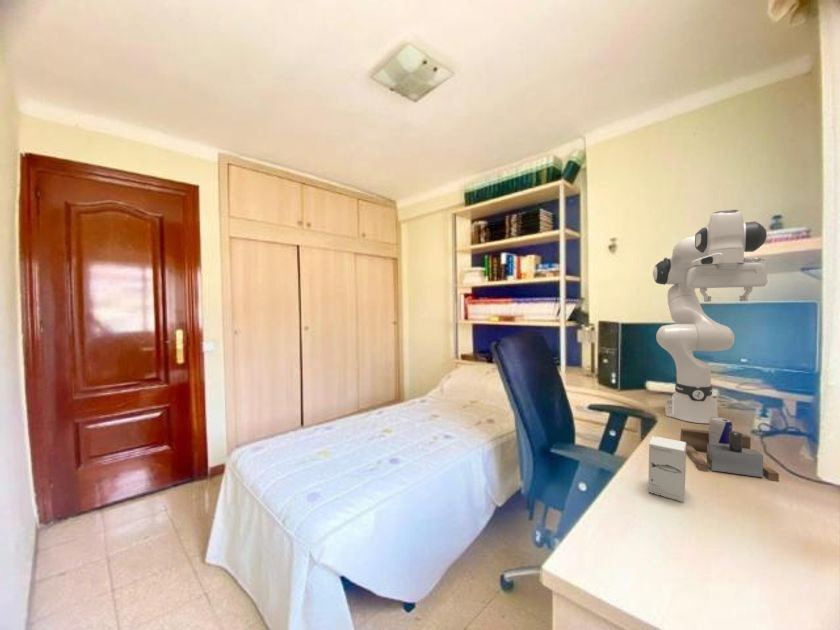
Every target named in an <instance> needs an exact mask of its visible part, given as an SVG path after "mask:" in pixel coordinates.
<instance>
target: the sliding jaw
mask: <svg viewBox="0 0 840 630" xmlns="http://www.w3.org/2000/svg"><path fill="white" fill-rule="evenodd" d="M742 434H743V433H742V432H738V431H734V430H732V431H730V432H729V447H728V446H719V445H711V444H707V453H706V462H707V464H708V468H709V469H710V470H711V471H715V472H721V473H729V474H734V475H736V474H737V475H744V476H752V477H758V478H764V475H763V462H764V454H762V453H761V452H760V451H758V450H756V449H753V448H750V449H746V448H742Z"/></svg>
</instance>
